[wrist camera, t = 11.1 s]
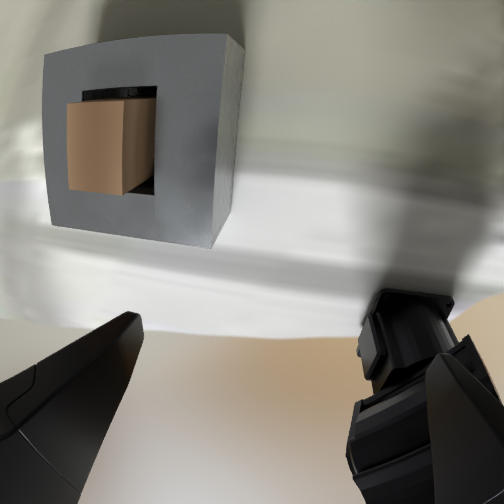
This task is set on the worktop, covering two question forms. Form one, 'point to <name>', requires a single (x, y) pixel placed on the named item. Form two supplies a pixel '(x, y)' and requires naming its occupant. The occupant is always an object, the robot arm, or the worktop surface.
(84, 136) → the tan rectangular block
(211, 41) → the grey square socket block
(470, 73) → the worktop surface
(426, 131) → the worktop surface
